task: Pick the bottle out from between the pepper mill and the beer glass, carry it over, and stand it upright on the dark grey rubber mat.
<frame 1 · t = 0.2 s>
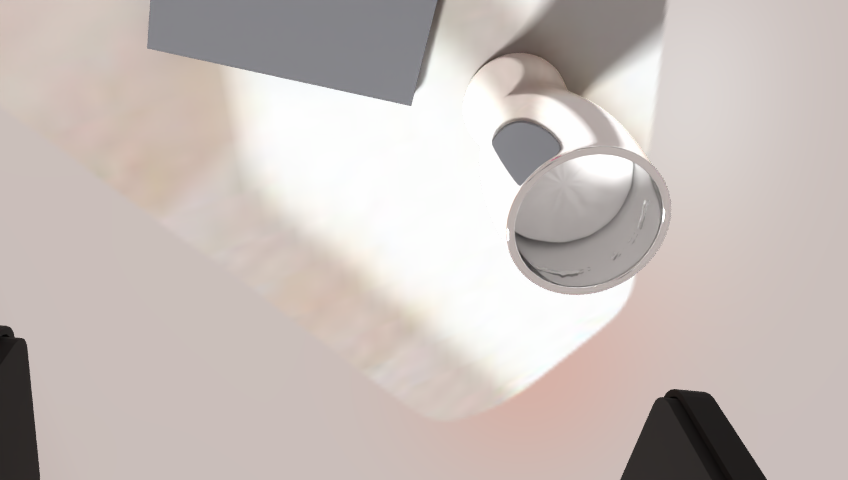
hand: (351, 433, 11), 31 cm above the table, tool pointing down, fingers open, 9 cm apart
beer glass: (513, 103, 41), on the table
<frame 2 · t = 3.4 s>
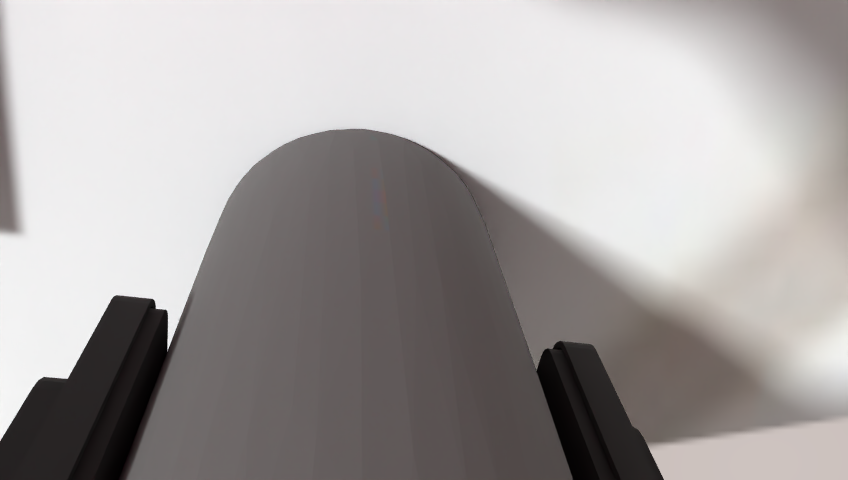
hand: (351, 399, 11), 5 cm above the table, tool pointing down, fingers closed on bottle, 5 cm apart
bottle: (353, 247, 16), on the table, touching gripper
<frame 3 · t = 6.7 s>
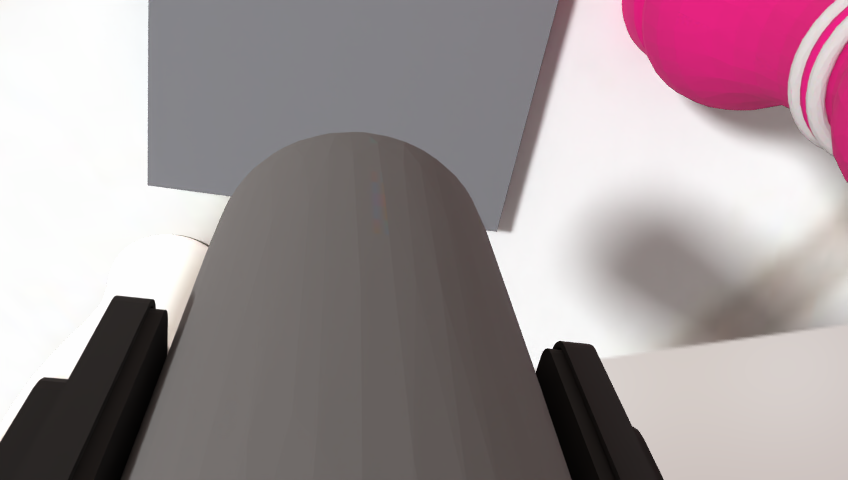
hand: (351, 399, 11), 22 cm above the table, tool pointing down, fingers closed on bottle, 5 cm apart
bottle: (353, 249, 16), point 17 cm above the table, touching gripper
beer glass: (175, 284, 35), on the table
mat: (350, 51, 30), on the table
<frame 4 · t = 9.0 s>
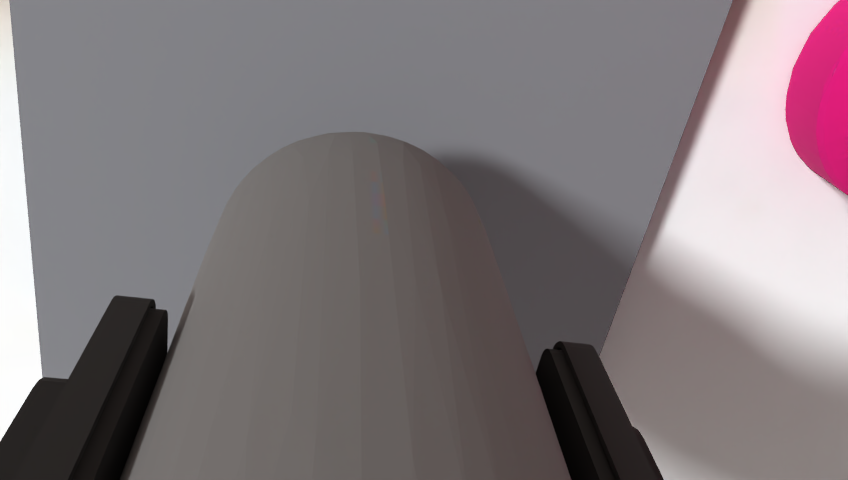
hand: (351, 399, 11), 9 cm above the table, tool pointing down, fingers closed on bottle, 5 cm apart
bottle: (353, 249, 16), point 4 cm above the table, touching gripper
mat: (355, 175, 19), on the table
when the fingers open (7 cm above the table, at t = 10.3 s): bottle drops 1 cm, resting on mat.
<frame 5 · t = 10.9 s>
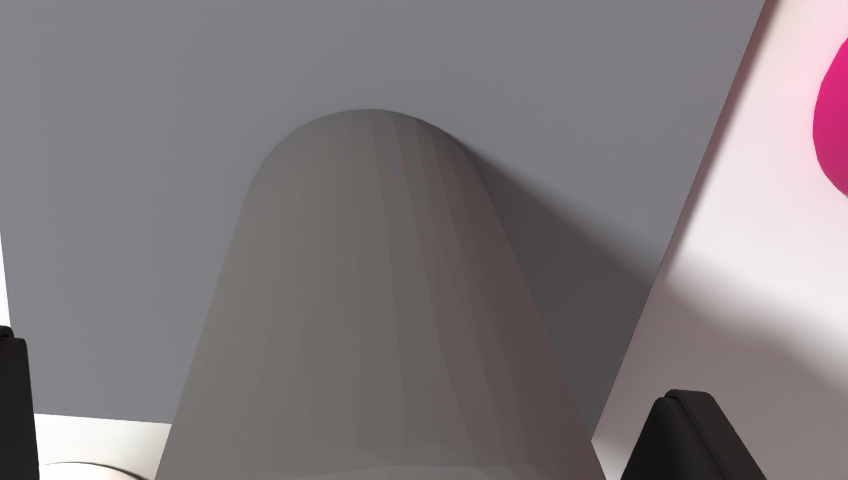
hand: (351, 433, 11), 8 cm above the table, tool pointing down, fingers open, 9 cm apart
bottle: (368, 219, 17), point 1 cm above the table, touching mat
mat: (354, 197, 18), on the table
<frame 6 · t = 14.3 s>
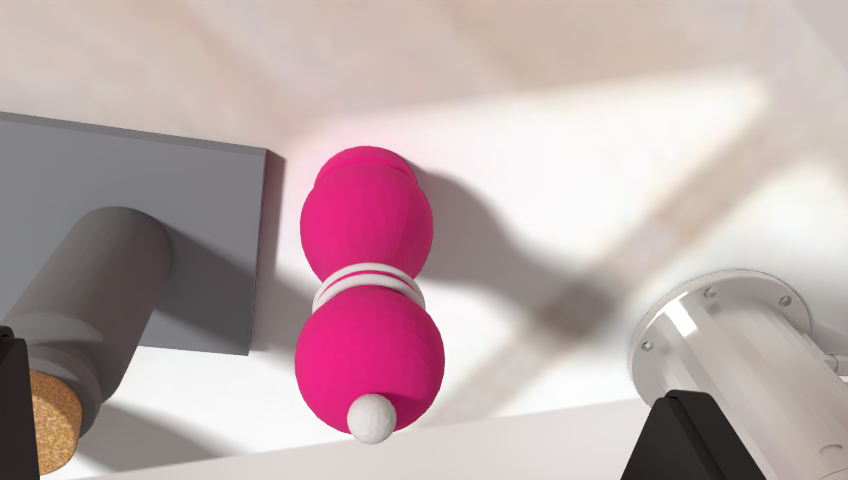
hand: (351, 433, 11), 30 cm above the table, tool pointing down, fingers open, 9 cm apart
bottle: (123, 248, 41), point 1 cm above the table, touching mat
pepper mill: (366, 192, 42), on the table
mat: (122, 238, 42), on the table
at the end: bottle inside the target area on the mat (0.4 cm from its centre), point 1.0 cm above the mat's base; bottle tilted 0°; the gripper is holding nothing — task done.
